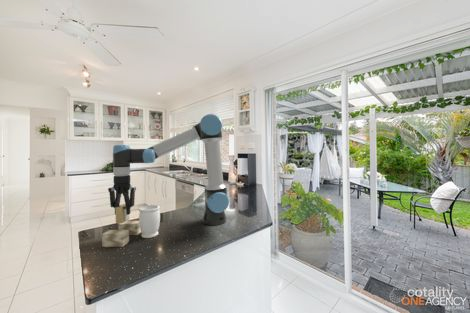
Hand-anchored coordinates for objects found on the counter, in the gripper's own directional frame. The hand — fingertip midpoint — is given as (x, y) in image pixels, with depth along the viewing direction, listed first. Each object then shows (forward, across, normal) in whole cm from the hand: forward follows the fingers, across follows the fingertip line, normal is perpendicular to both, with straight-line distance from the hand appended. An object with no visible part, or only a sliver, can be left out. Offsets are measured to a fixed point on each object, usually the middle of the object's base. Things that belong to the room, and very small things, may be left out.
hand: (122, 220), depth 104 cm
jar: (+9, -12, -4) cm, 16 cm away
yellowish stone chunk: (0, 0, 0) cm, 0 cm away
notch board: (+9, 0, 0) cm, 9 cm away
